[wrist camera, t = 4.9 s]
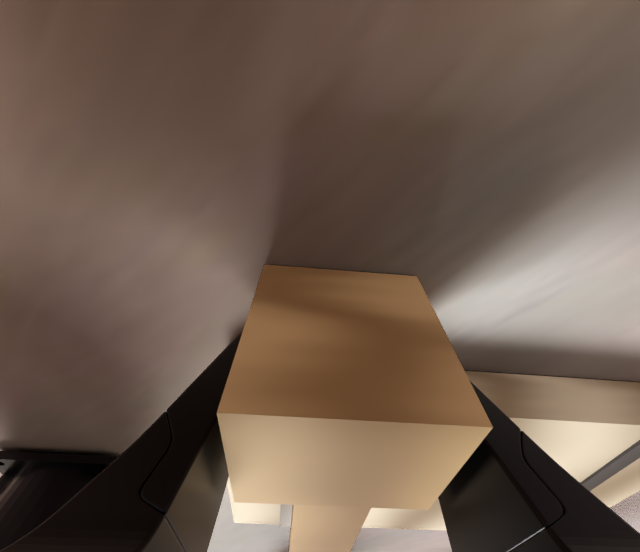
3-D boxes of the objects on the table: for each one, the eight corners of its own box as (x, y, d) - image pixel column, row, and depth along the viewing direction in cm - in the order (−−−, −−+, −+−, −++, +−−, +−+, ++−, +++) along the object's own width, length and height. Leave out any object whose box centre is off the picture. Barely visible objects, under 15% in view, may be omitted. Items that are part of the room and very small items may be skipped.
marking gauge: (268, 440, 15) (248, 573, 11) (264, 264, 9) (216, 412, 5) (361, 444, 15) (375, 576, 11) (416, 276, 9) (493, 427, 5)
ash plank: (242, 482, 18) (233, 525, 16) (226, 354, 12) (209, 402, 10) (542, 495, 19) (564, 536, 17) (685, 385, 13) (745, 433, 11)
